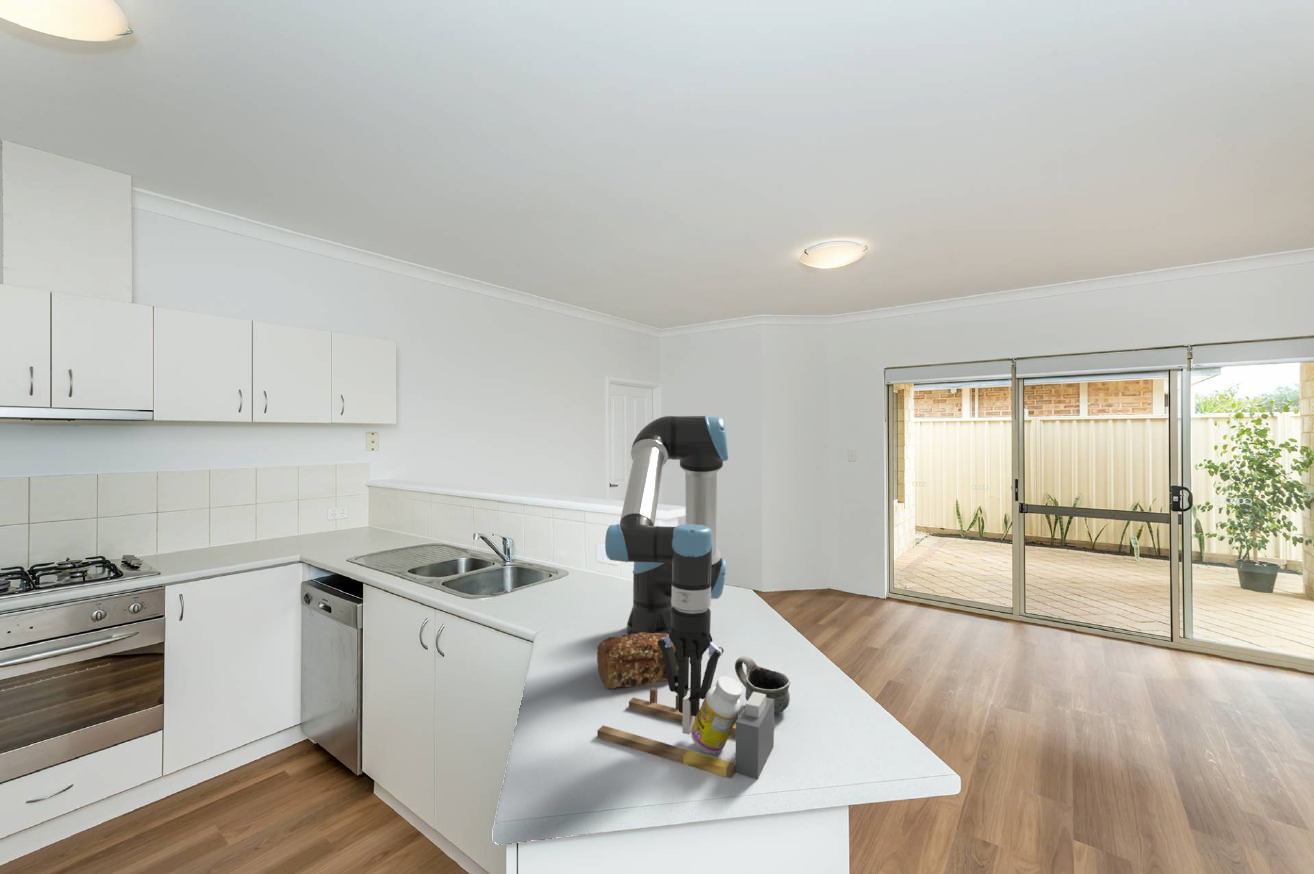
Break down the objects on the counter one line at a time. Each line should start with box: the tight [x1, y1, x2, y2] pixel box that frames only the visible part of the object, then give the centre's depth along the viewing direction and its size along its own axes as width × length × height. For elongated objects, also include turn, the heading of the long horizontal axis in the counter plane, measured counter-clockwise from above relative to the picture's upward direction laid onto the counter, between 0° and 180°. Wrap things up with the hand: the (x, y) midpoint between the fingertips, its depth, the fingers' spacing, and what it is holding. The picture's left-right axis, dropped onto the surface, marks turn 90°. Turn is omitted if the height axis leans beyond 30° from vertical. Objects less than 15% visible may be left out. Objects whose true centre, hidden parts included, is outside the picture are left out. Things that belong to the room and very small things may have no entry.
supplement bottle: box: [690, 676, 743, 754], centre depth 102 cm, size 7×7×13 cm
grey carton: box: [733, 692, 775, 780], centre depth 100 cm, size 4×11×11 cm, turn 154°
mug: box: [734, 655, 791, 716], centre depth 118 cm, size 10×12×10 cm
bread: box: [596, 632, 678, 690], centre depth 132 cm, size 19×11×10 cm, turn 110°
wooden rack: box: [596, 686, 739, 779], centre depth 107 cm, size 27×16×4 cm, turn 64°
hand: (688, 730), depth 105 cm, fingers closed
